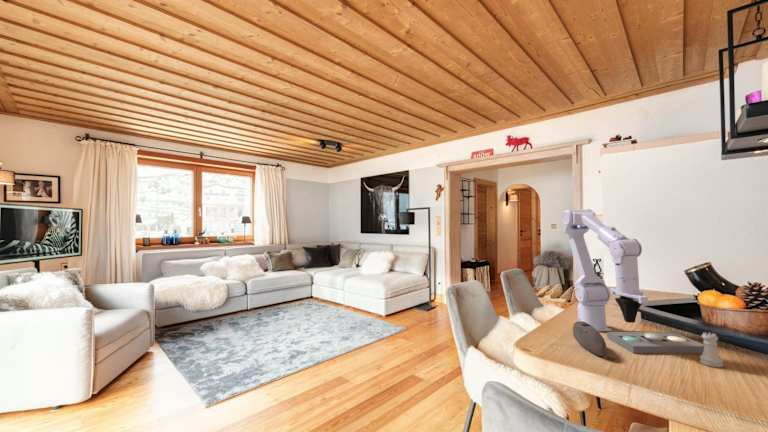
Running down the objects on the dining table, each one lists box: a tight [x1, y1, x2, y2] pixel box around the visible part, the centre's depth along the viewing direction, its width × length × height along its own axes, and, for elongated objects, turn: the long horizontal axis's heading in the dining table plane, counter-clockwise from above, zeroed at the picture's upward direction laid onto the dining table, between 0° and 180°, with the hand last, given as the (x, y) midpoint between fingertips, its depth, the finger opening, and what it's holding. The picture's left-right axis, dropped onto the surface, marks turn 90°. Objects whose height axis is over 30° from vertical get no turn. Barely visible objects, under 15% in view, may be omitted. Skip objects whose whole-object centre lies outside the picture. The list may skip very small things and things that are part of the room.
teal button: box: [622, 336, 640, 342], centre depth 100 cm, size 4×4×1 cm
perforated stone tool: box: [572, 320, 607, 357], centre depth 97 cm, size 15×5×7 cm, turn 170°
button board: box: [606, 331, 704, 354], centre depth 99 cm, size 13×20×2 cm, turn 84°
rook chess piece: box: [699, 331, 725, 368], centre depth 85 cm, size 4×4×8 cm
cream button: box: [667, 336, 687, 342], centre depth 98 cm, size 4×4×1 cm
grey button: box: [644, 333, 663, 342], centre depth 99 cm, size 4×4×1 cm
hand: (629, 321), depth 100 cm, fingers closed
